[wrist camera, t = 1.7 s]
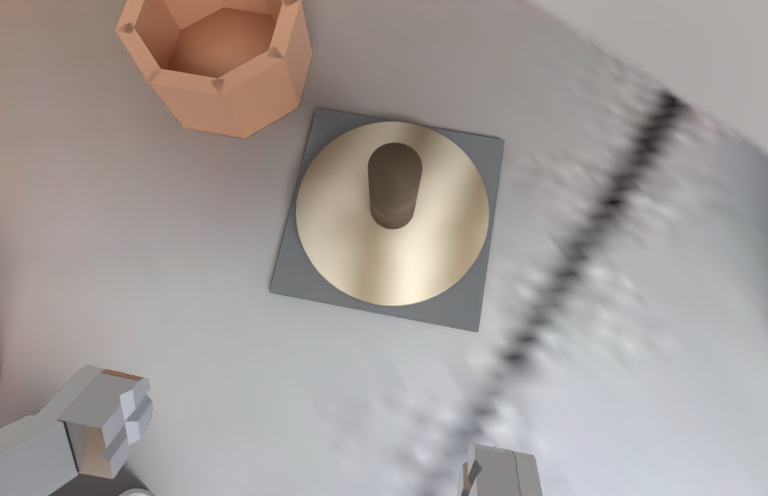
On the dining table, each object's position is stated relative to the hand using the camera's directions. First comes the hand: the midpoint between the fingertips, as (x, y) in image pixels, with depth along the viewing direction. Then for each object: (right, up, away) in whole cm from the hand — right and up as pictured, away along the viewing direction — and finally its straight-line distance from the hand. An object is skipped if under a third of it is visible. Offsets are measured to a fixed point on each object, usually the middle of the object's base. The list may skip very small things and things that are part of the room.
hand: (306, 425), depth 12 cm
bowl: (-10, +19, +27) cm, 35 cm away
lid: (+2, +7, +24) cm, 25 cm away
